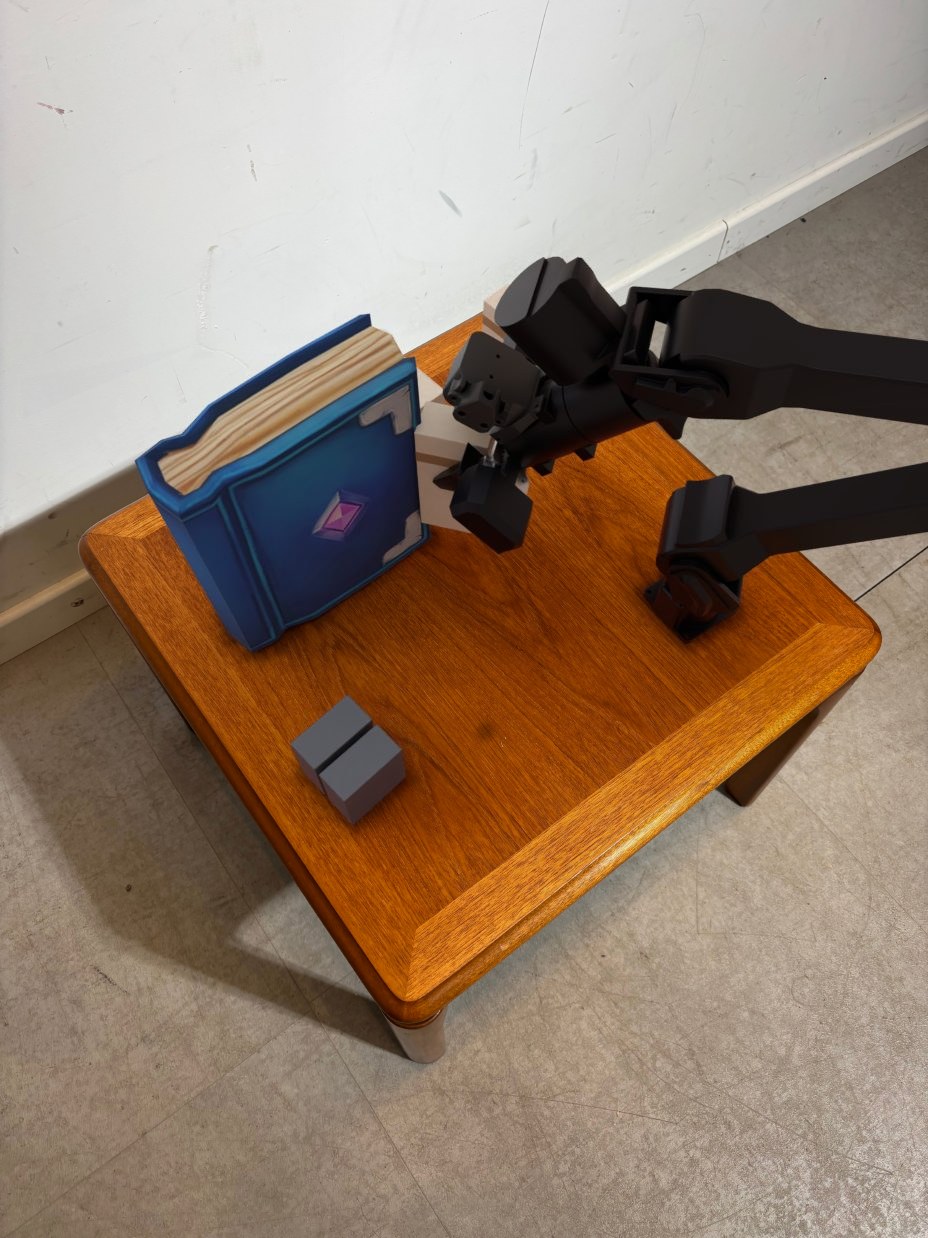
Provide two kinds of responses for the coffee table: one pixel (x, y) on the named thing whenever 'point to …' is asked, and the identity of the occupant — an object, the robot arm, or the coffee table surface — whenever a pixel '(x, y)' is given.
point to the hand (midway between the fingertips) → (442, 466)
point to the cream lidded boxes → (433, 390)
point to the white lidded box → (442, 459)
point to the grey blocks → (350, 759)
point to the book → (297, 482)
